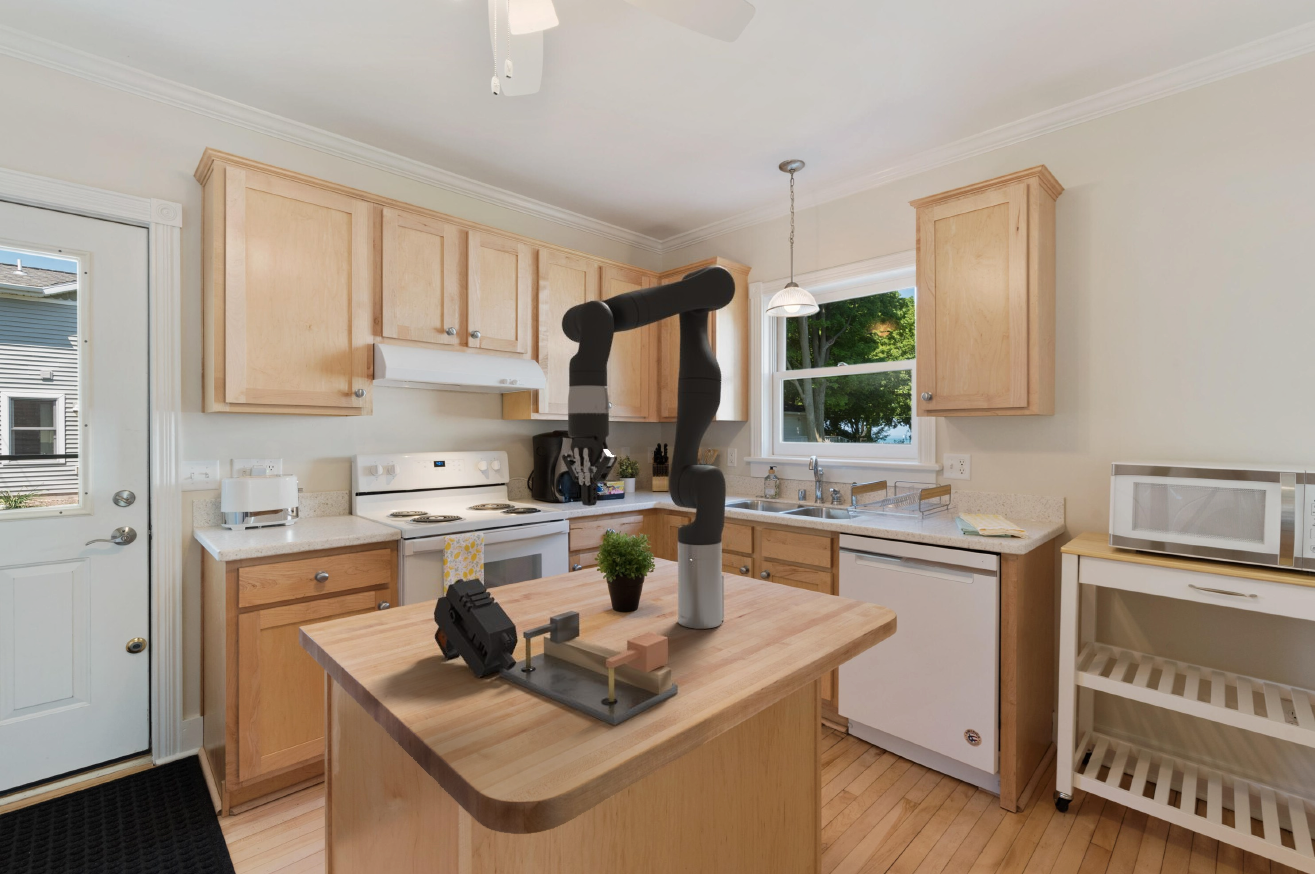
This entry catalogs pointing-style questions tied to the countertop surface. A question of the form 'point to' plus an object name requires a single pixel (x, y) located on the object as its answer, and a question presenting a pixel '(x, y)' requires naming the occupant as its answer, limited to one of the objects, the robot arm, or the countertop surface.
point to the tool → (475, 628)
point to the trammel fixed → (592, 654)
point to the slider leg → (640, 656)
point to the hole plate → (583, 688)
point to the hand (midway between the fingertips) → (589, 505)
